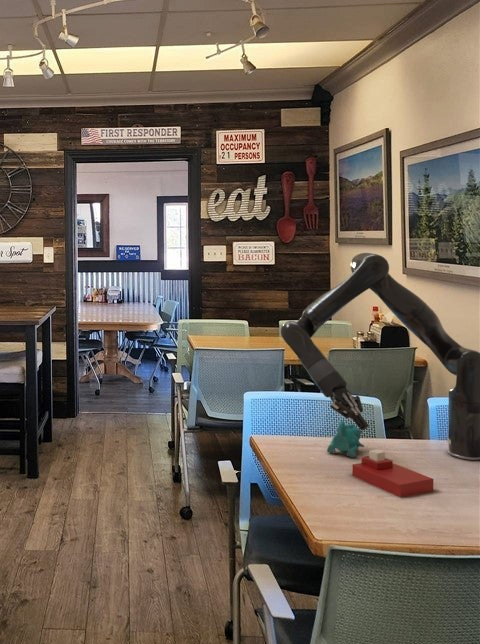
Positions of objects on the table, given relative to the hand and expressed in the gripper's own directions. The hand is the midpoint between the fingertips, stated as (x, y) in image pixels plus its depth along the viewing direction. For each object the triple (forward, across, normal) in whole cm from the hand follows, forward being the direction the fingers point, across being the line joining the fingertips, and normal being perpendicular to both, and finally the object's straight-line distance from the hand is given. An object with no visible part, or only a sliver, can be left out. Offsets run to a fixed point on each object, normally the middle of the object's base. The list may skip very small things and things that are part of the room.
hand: (365, 428), depth 174 cm
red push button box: (+15, -1, +3) cm, 15 cm away
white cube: (+8, 0, +3) cm, 9 cm away
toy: (-1, +13, +19) cm, 23 cm away
